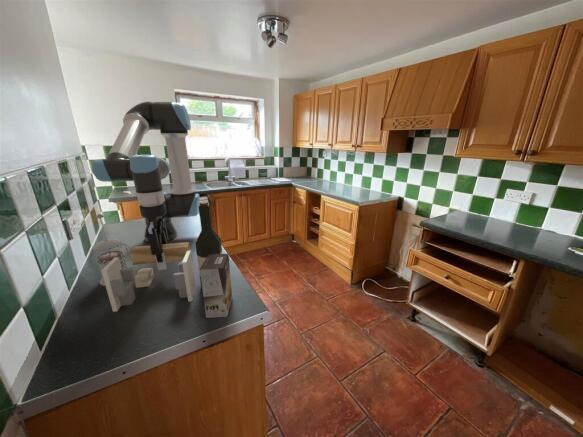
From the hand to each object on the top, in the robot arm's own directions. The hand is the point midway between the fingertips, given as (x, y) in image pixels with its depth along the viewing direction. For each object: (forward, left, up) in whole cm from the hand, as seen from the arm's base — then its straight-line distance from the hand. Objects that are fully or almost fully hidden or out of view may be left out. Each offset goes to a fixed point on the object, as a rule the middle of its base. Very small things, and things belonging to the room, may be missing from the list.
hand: (164, 265), depth 87 cm
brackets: (+12, 0, -6) cm, 13 cm away
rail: (0, 0, +3) cm, 3 cm away
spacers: (+1, 0, -6) cm, 6 cm away
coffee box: (+21, +20, -6) cm, 29 cm away
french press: (-5, -18, -6) cm, 20 cm away
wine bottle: (+7, +17, -6) cm, 19 cm away
